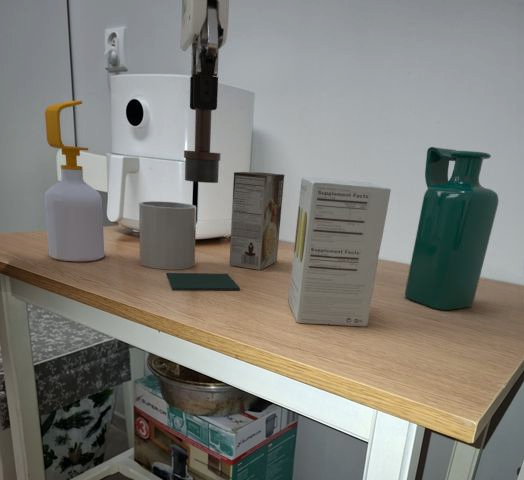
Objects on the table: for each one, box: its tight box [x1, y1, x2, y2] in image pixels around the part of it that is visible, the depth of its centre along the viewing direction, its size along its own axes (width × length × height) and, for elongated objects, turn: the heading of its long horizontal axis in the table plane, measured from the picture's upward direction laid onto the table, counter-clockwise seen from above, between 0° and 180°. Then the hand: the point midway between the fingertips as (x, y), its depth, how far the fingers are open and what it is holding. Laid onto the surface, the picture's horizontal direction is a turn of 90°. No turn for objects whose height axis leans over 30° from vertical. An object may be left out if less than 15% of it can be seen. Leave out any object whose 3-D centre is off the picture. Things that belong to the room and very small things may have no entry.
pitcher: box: [404, 146, 499, 311], centre depth 72 cm, size 10×8×22 cm
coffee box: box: [228, 171, 285, 271], centre depth 88 cm, size 9×6×16 cm
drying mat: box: [166, 272, 241, 291], centre depth 75 cm, size 10×9×1 cm
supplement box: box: [288, 176, 392, 328], centre depth 62 cm, size 10×9×17 cm
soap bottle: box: [43, 100, 105, 263], centre depth 80 cm, size 9×9×25 cm
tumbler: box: [138, 200, 197, 271], centre depth 84 cm, size 9×9×10 cm
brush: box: [183, 74, 221, 184], centre depth 68 cm, size 5×5×15 cm
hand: (203, 108), depth 67 cm, fingers closed on brush
